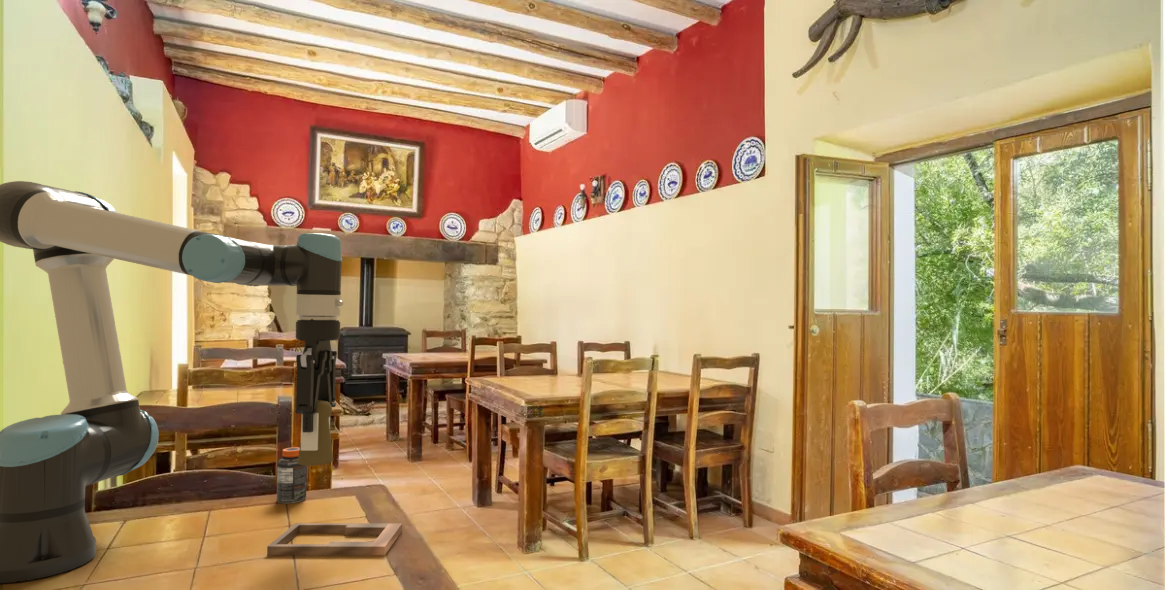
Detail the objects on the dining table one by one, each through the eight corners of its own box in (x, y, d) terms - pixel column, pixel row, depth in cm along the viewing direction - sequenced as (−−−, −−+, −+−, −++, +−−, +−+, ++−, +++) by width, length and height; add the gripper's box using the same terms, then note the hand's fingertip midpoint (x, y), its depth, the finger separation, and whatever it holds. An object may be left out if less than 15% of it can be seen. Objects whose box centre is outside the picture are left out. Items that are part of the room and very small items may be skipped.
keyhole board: (267, 555, 110) (267, 546, 110) (295, 531, 122) (295, 523, 122) (384, 555, 111) (385, 546, 111) (401, 531, 123) (402, 523, 123)
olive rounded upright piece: (320, 466, 113) (321, 403, 113) (290, 464, 114) (291, 402, 114) (340, 458, 119) (341, 399, 119) (310, 456, 120) (312, 397, 120)
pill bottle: (301, 494, 146) (302, 444, 146) (309, 500, 141) (310, 449, 141) (273, 499, 142) (274, 447, 142) (280, 505, 137) (282, 452, 138)
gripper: (320, 319, 108) (317, 458, 108) (355, 318, 126) (352, 436, 126) (275, 319, 108) (272, 457, 107) (316, 317, 126) (313, 436, 125)
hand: (315, 446), depth 117 cm, fingers closed on olive rounded upright piece, 5 cm apart
